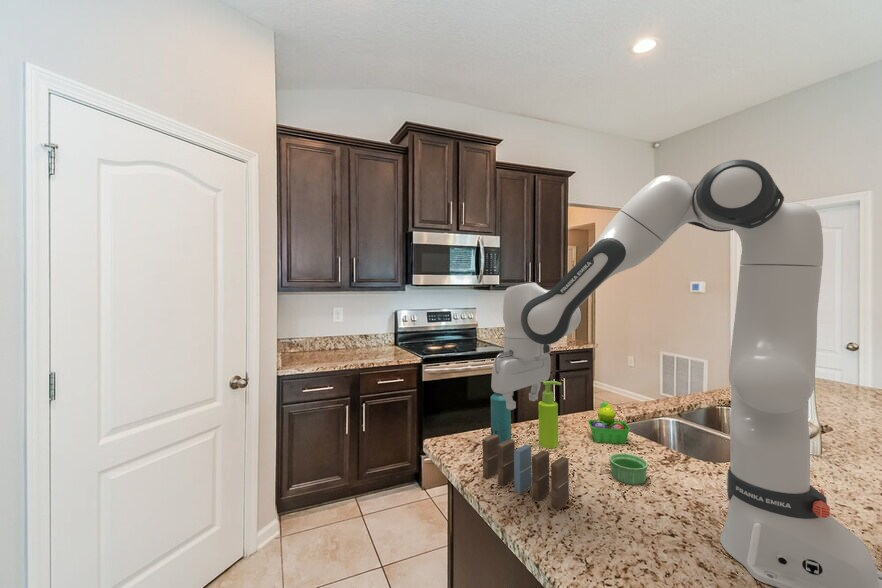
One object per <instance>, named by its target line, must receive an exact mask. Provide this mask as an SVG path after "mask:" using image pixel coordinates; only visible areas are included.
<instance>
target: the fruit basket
mask: <svg viewBox="0 0 882 588" xmlns="http://www.w3.org/2000/svg"><path fill="white" fill-rule="evenodd" d="M616 416H617V415H616V412H615V411H614V409H613V407H612V405H611V404H610V403H608V402H606V401H603V402H601V404H600V406H599V409H598V412H597V417H598V419H589V420H587V421H588V424H589V428H590V430H591V435H592V438H593V440H594V441H595V442H594V443H609V444H610V443H611V444H622V445H624V444H627V440H628V436H629V433H630V430H631V428H630V427H629V425H628V424H627V423H626V422H625V421H622V420H614V419H615V418H616Z"/></svg>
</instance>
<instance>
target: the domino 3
mask: <svg viewBox="0 0 882 588" xmlns="http://www.w3.org/2000/svg"><path fill="white" fill-rule="evenodd" d="M513 481H514V483H513V484H514V492H515V493H518V494H521V493H523V492H525V491H526V490H527V489H529V488H532V445H529V444H524V445H522V446H520V447H518V448H515V450H514V480H513Z"/></svg>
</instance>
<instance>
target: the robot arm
mask: <svg viewBox="0 0 882 588" xmlns="http://www.w3.org/2000/svg"><path fill="white" fill-rule="evenodd" d="M784 200H785V196H784V194H783V193H782V191H781V190H780V189H779V187H778V185H777V184H776V182H775V180H774V179H773V177H772V176H771V174H770V172H769V171H768V170H767V169H766V168H765V167H764V166H763V165H762V164H760V163H758V162H756V161H753V160H749V159H733V160H728V161H725V162H722V163H719V164H718V165H716V166H715V167H713V168H711V169H710V170H709V171H708V172H706V173H705V174H704V176H703V177H702V178H701V179H700V180H699V182H693V183H692V182H689V181H688V182H687V181H686V180H684V179H683V178H681V177H679V176H677V175H676V176H675V175H671V174H670V175H669V174H663V175H659V176H657V177H655V178H653V179H652V180H651V181H649V182H648V183H647V184H645V185H644V186H643V187H641V188H640V190H638V192H637V193H635V194H634V195H633V196H632V197H631V198H630V199H629V200H628V201H627V202H626V203H625V204H624V205H623V206H622V207H621V208H620V210H618V211H617V212H616V214H615V215H614V217H612V219H611V220H610V221H609V222H608V224H607V225H606V226H605V228H604V229H603V231H602V232H601V233H600V235H599V236H598V237H597V239H596V240H595V241H594V243H593V244H592V246H591V247H590V248H589V249H588V251H587V252H586V253H585V254H584V255H583V256H582V258H581V259H579V261H578V262H577V263H576V264H575V265H574V266H572V268H571V269H570V270H569V271H568V272H567V273H566V274H565V275H564V276H563V277H562V278H561V279H560V280H559V282H557V283H556V284H555V286H553V287H552V288H551V289H550V290H547V289H546V288H543V287H541V286H540V285H539V284H537V282H534V281H526V282H519V283H514V284H511V285H509V286H508V287H507V288H506V289H505V292H504V295H503V306H502V307H503V308H502V313H503V314H502V319H503V323H504V332H503V352H499V353H498V354H497V355H496V357H495V358H494V362H493V365H492V369H491V370H492V371H491V384H490V387H491V390H492V392H494V393H500V394H503V397H504V399H505V401H506V408H507V409H509V410H511V411H512V410H515V409H516V408H517V401H515V400H514V399H513V396H514V392H515V391H519V390H522V389H524V388H528V387H531V388H530V392H529V393H528V399H529V401H531V402H536V401H538V399H539V392H540V390H541V386H542V385H541V383H543V381H549V378H550V376H551V365H552V364H551V356H550V353H551V352H552V344H555V343H556V342H558V341H560V340H561V339H562V338H564V337H566V336H568V335H570V334H573V333H574V331H576V330H577V329H578V328H579V326H580V325H581V322H582V318H583V316H582V314H583V313H582V310H581V308H580V306H581V305H582V304H583V303H584V302H585V301H587V300H588V298H589V297H590V296H591V295H592V294H593V293H594V292H596V290H597V289H598V288H599V287H600V286H601V285H602V284H604V283H605V282H606V281H607V280H608V279H610V278H611V277H613V276H615V275H617V274H619V273H621V272H623V271H624V272H625V271H626V270H630V269H631V268H635V267H637V266H638V265H640V264H641V263H643V262H644V261H645V260H647V259H648V258H650V257H651V256H652V255H653V254H654V253H655V252H656V251H658V249H660V247H662V246H663V245H664V243H666V242H667V240H669V239H670V237H672V235H673V234H674V233H676V232H677V231H678V230H679V229H680V228H681V227H682V226H684V225H686V224H689V225H692V226H696V227H699V228H702V229H705V230H708V231H712V232H723V233H724V232H730V231H734V232H735V233H736V234H737V235H738V236H739V239H740V242H741V255H740V262H739V263H740V264H739V272H738V281H737V282H738V283H737V293H736V304H735V314H734V321H733V330H732V340H731V346H730V347H731V349H730V356H729V357H730V358H729V367H728V381H729V384H730V386H731V387H730V390H731V391H730V393H731V394H730V424H729V425H730V426H729V427H730V428H729V429H730V431H729V432H730V439H729V440H730V443H729V445H730V448H729V449H730V466H729V468H728V469H727V473H726V493H727V498H728V506H727V513H726V518H725V522H724V526H723V529H722V531H721V533H720V536H719V540H720V541H719V542H720V544H721V546H722V547H723V549H724V550H725V551H726V553H727V554H729V555H730V556H731V557H733V559H734V560H736V561H737V562H739V563H740V564H741V565H743V567H745V568H746V570H747V571H748V573H750V575H751V576H752V577H753V578H755V579H756V580H757V581H759V582H761V583H764V584H767V585H770V586H772V587H776V588H882V571H881V570H880V569H878V568H877V566H876V563H875V561H874V559H873V556H872V554H871V552H870V550H869V547H867V545H866V543H865V542H864V541H863V540H862V539H861V538H860V537H858V536H857V535H856V534H854V533H853V532H852V531H850V530H849V529H848V528H847V527H846V526H844V525H843V524H842V523H840V521H838V520H836V519H835V518H834V517H833V516H832V515H830V514H831V508H830V506H829V505H828V501H827V497H826V495H825V493H824V490H823V489H820V491H819V490H818V489H817V488H815V487H814V486H812V485H811V440H810V439H811V438H810V429H809V428H810V427H809V413H808V410H809V409H808V401H809V400H810V398H811V397H812V395H813V393H814V391H815V390H814V389H815V379H816V365H817V345H818V344H817V343H818V341H817V337H818V311H819V309H818V308H819V302H820V301H819V299H820V292H821V282H822V272H823V261H824V235H823V234H824V233H823V229H822V228H823V227H822V222H821V217H820V214H819V212H818V211H817V210H816V209H814V208H813V207H812V206H810V205H807V204H802V203H798V202H784Z"/></svg>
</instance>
